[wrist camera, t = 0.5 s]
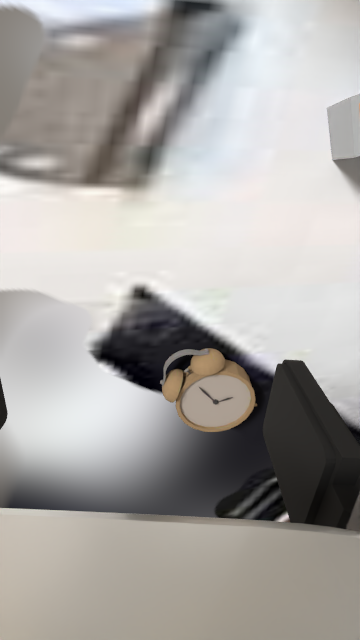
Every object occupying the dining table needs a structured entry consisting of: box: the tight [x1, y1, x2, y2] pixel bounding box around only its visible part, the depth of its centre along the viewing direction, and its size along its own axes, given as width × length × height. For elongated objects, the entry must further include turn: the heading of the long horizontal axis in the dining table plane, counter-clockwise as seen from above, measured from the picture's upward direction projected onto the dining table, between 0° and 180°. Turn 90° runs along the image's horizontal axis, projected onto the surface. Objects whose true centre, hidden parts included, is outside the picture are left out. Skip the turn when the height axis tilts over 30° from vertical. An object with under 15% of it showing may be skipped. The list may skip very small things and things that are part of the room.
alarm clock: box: [160, 348, 257, 432], centre depth 45 cm, size 11×5×15 cm
